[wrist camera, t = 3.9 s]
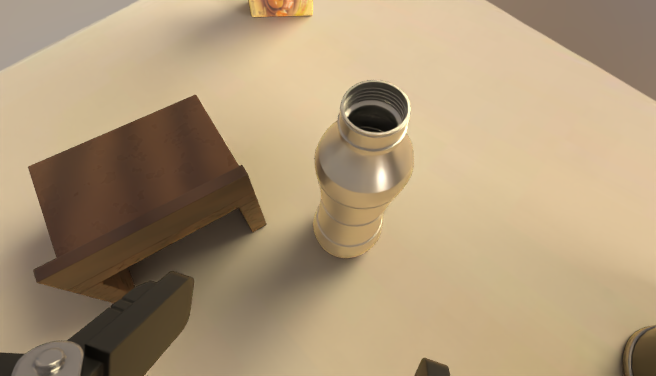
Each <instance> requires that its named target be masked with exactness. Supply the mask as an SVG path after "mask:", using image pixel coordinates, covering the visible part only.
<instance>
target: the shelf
mask: <svg viewBox="0 0 656 376" xmlns="http://www.w3.org/2000/svg"><path fill="white" fill-rule="evenodd" d="M28 168H29V171H30V175H31V178H32V181H33V184H34V187H35V191H36V194H37V197H38V200H39V203H40V206H41V210H42V213H43V216H44V219H45V222H46V226H47V229H48V232H49V235H50V238H51V241H52V245H53V248H54V251H55V254H56V257H57V258H56V259H54V260H52V261H50V262H48V263H46V264H44V265H42V266H40V267H38V268H36V269H34V270H33V271H34V275H35V278H36V282H37V283H40V284H44V285H47V286H51V287H55V288H58V289H62V290H66V291H70V292H74V293H77V294H81V295H85V296H89V297H92V298H96V299H100V300H104V301H107V302H111V303H115V302H117V301H118V300H119V299H122V297H123V296H124V295H125V294H127V293H128V292H129V291H131V290H132V289H133V288H134V287H135V285H134V282H133V280H132V277H131V275H130V272H129V270H128V267H129V266H131V265H133V264H135V263H137V262H139V261H141V260H142V259H144V258H146V257H148V256H150V255H152V254H154V253H155V252H157V251H159V250H161V249H163V248H165V247H167V246H168V245H170V244H172V243H174V242H176V241H178V240H180V239H181V238H183V237H185V236H187V235H189V234H191V233H193V232H195V231H196V230H198V229H200V228H202V227H204V226H206V225H208V224H209V223H211V222H213V221H215V220H217V219H219V218H221V217H222V216H224V215H226V214H228V213H230V212H232V211H234V210H236V209H237V208H239V209H240V211H241V213H242V214H243V216H244V218H245V220H246V221H247V223H248V225H249V227H250V228H251V230H252V232H254V231H256V230H258V229H259V228H261V227H263V226H265V225H266V221H265V219H264V216H263V214H262V211H261V208H260V206H259V203H258V200H257V198H256V195H255V192H254V190H253V187H252V184H251V182H250V179H249V176H248V174H247V172H246V171H245V169H244V167H243V166H242V165H241V166H239V165H238V164H237V162H236V160H235V159H234V157H233V155H232V154H231V152H230V150H229V149H228V147H227V145H226V144H225V142H224V140H223V139H222V137H221V135H220V134H219V132H218V130H217V129H216V127H215V125H214V124H213V122H212V121H211V119H210V117H209V116H208V114H207V112H206V111H205V109H204V107H203V106H202V104H201V102H200V101H199V99H198V97H197V96H196V95H193V96H191V97H189V98H187V99H184V100H182V101H180V102H177V103H175V104H173V105H170V106H168V107H166V108H163V109H161V110H159V111H156V112H154V113H152V114H149V115H147V116H145V117H142V118H140V119H138V120H135V121H133V122H131V123H128V124H126V125H124V126H121V127H119V128H117V129H115V130H112V131H110V132H108V133H105V134H103V135H101V136H98V137H96V138H94V139H91V140H89V141H87V142H84V143H82V144H80V145H77V146H75V147H73V148H70V149H68V150H66V151H63V152H61V153H59V154H56V155H54V156H52V157H49V158H47V159H45V160H42V161H40V162H38V163H36V164H33V165H31V166H29V167H28Z"/></svg>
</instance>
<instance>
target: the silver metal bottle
mask: <svg viewBox="0 0 656 376" xmlns="http://www.w3.org/2000/svg"><path fill="white" fill-rule="evenodd" d="M410 112H411V106H410V101H409V99H408V97H407V95H406V94H405V93H404V92H403V91H402V90H401V89H400V88H399V87H397V86H396V85H394V84H392V83H389V82H386V81H382V80H367V81H363V82H360V83H358V84H355V85H354V86H352V87H351V88H350V89H349V90H348V91H347V92H346V93H345V95H344V96H343V99H342V101H341V106H340V113H339V115H338V121H336V122H335V123H333V124H332V125H331V126H330V127H329V128H328V129H327V130H326V132H325V133H324V135H323V136H322V138H321V140H320V141H319V143H318V146H317V148H316V151H315V158H314V159H315V170H316V175H317V179H318V182H319V186H320V189H321V202H320V204H319V206H318V208H317V211H316V214H315V216H314V222H313V227H314V233H315V236H316V238H317V240H318V242H319V244H320V245H321V246H322V248H323V249H324V250H325V251H327V252H328V253H329V254H331V255H333V256H336V257H340V258H353V257H357V256H360V255H361V254H363V253H365V252H367V251H368V250H369V249H370V248H372V247H373V246H374V245H375V243H376V242H377V241H378V239H379V237H380V234H381V230H382V224H383V213H384V211H385V210H386V208H387V206H388V205H389V204H390V203H391V202H392V200H393V199H394V198H395V197H396V196H397V195H398V194H399V193H400V192H401V191H402V189H403V188H404V187H405V185H406V184H407V183H408V181H409V179H410V177H411V175H412V171H413V167H414V153H413V147H412V143H411V141H410V138H409V136H408V135H407V133H406V131H407V123H408V121H409V118H410Z"/></svg>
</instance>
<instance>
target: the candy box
mask: <svg viewBox="0 0 656 376" xmlns="http://www.w3.org/2000/svg"><path fill="white" fill-rule="evenodd" d="M248 1H249V6H250V11H251V16H252V17H269V16H305V15H313V0H248Z"/></svg>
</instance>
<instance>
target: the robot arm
mask: <svg viewBox="0 0 656 376" xmlns="http://www.w3.org/2000/svg"><path fill="white" fill-rule="evenodd" d="M193 287H194V279H193V278H191V277H189V276H186V275H183V274H180V273H177V272H174V271H171V272H169V273H168V274H167V275H165V276H164V277H163V278H162V279H161V280H160V281H158V282H154V281H149V282H146V283H144V284H141V285H139V286H136V287H134V288H133V289H132V290H131V291H129V292H128V293H127V294H125V295H124V296H123V297H122V299H119V300H118V301H117V302H115V303H114V304H113V305H112V306H111V308H108V309H107V310H105V311H104V312H103V313H101V314H100V315H99V316H98V317H96V318H95V319H94V320H93V321H91V322H90V323H89V324H88V325H86V326H85V327H84V328H82V329H81V330H80V331H79V332H77V333H76V334H75V335H74V336H72V337H71V338H70V339H68V340H67V341H53V342H49V343H45V344H42V345H40V346H37V347H35V348H33V349H32V350H30V351H28V352H27V353H26V354H16V353H0V376H144V375H145V374H146V373H147V371H148V370H149V369H150V368H151V367H152V366H153V364H154V363H155V362H156V361H157V360H158V359H159V357H160V356H161V355H162V354H163V353H164V352H165V350H166V349H167V348H168V347H169V346H170V345H171V343H172V342H173V341H174V340H175V339H176V338H177V336H178V335H179V334H180V333H181V332H182V330H183V329H184V327H185V325H186V323H187V321H188V319H189V316H190V310H191V302H192V294H193ZM623 370H624V375H625V376H656V325H653V326H647V327H644V328H642V329H640V330H638V331H636V332H635V333H634V334H633V335H632V336H631V337H630V339H629V340H628V342H627V344H626V347H625V350H624V354H623ZM415 376H450V373H449V368H448V366H447V365H444V364H441V363H438V362H435V361H433V360H430V359H427V358H423V359H422V360H421V362H420V364H419V367H418V369H417V371H416V373H415Z"/></svg>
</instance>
